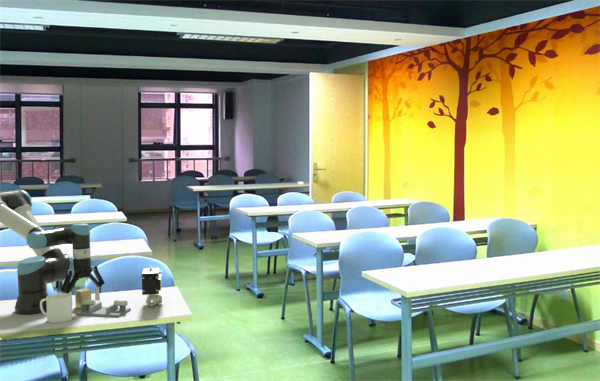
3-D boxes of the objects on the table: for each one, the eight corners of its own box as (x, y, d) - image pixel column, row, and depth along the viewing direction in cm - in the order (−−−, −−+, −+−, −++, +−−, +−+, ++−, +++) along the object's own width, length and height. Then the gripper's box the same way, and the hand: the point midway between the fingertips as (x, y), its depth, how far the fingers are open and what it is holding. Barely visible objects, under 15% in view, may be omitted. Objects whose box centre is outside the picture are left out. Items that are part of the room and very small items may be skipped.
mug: (70, 315, 258) (69, 292, 257) (74, 321, 249) (73, 297, 248) (39, 319, 252) (38, 295, 251) (41, 325, 243) (40, 301, 242)
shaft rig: (76, 315, 258) (75, 302, 257) (89, 308, 269) (89, 296, 268) (118, 317, 254) (118, 304, 254) (130, 310, 265) (130, 298, 264)
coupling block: (75, 307, 271) (75, 290, 270) (85, 305, 274) (85, 288, 274) (81, 309, 267) (80, 291, 267) (91, 307, 271) (90, 289, 270)
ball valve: (161, 309, 266) (160, 270, 265) (142, 310, 264) (141, 271, 263) (163, 299, 284) (162, 262, 282) (145, 300, 282) (144, 263, 281)
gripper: (59, 262, 257) (62, 310, 259) (110, 254, 276) (112, 299, 277) (51, 260, 262) (53, 307, 263) (102, 252, 281) (104, 296, 282)
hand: (84, 303), depth 270 cm, fingers open, 13 cm apart
